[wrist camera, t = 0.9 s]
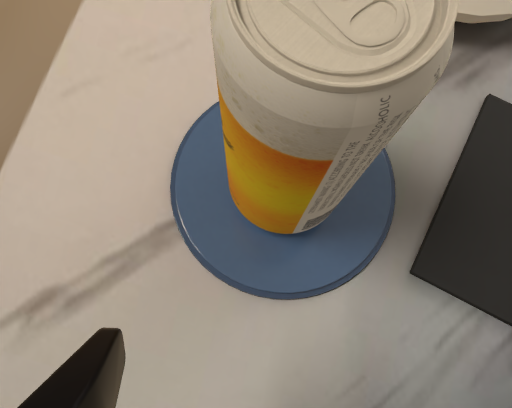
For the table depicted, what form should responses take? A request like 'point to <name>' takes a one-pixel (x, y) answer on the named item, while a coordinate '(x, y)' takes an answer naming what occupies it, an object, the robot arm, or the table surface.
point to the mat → (476, 219)
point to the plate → (269, 243)
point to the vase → (484, 10)
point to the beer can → (318, 95)
